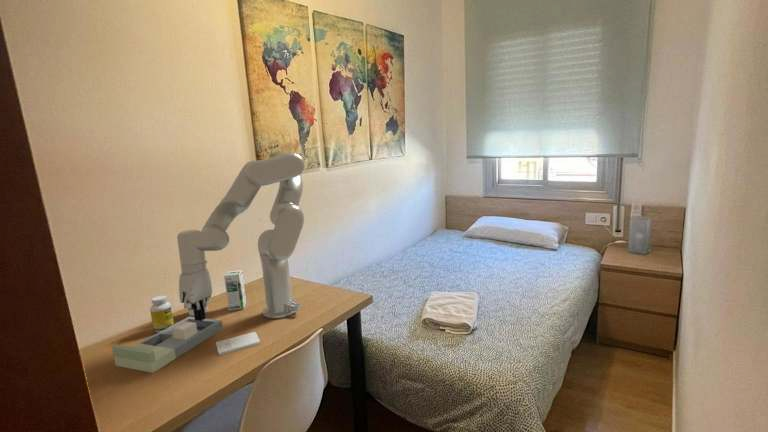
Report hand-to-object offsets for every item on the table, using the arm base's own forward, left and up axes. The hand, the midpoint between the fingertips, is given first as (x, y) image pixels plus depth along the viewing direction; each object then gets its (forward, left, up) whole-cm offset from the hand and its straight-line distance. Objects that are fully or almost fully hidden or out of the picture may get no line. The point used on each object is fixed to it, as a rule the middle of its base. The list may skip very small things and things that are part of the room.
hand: (200, 319), depth 135 cm
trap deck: (+3, +9, -5) cm, 11 cm away
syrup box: (+4, -22, -6) cm, 23 cm away
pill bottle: (+18, 0, -6) cm, 18 cm away
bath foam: (+16, -14, -6) cm, 22 cm away
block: (0, +7, -2) cm, 7 cm away
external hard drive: (-18, +3, -6) cm, 19 cm away
